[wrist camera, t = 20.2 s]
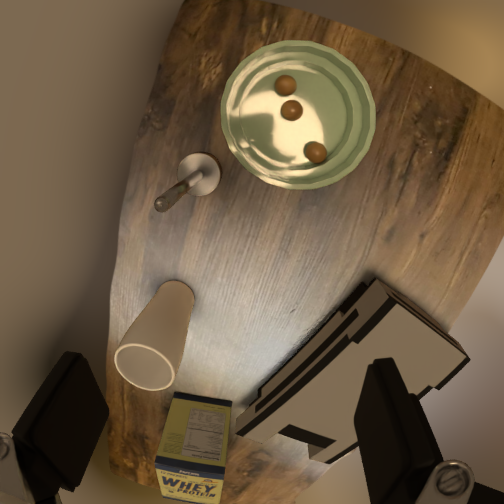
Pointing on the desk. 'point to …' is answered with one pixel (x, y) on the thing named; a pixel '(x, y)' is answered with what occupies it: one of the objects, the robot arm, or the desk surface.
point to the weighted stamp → (192, 179)
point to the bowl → (311, 122)
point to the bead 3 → (316, 152)
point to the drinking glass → (157, 338)
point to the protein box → (194, 449)
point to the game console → (350, 371)
